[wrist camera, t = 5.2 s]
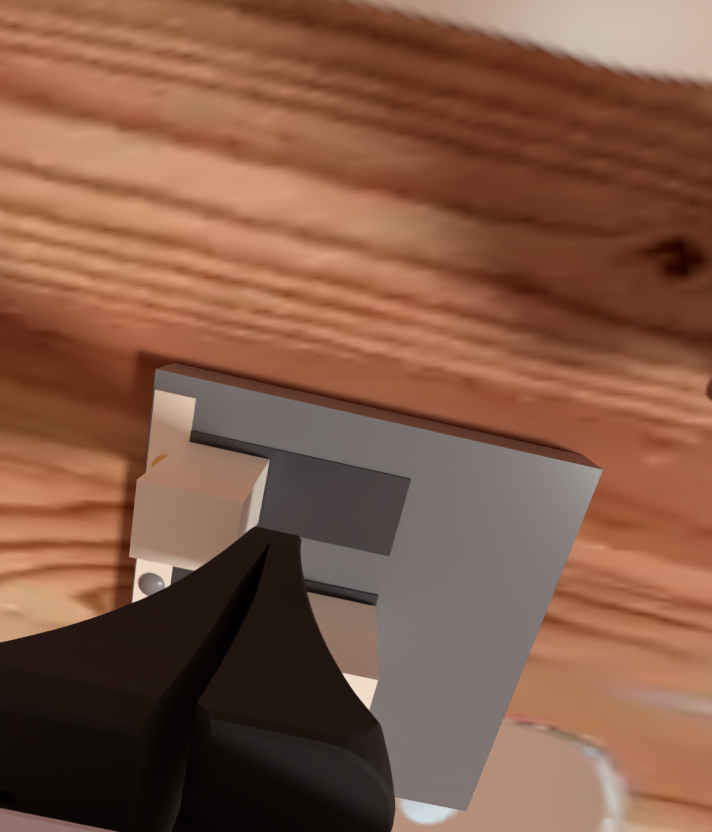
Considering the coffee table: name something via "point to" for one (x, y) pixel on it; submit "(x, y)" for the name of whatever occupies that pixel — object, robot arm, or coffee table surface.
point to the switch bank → (400, 549)
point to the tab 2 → (350, 640)
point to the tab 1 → (196, 504)
